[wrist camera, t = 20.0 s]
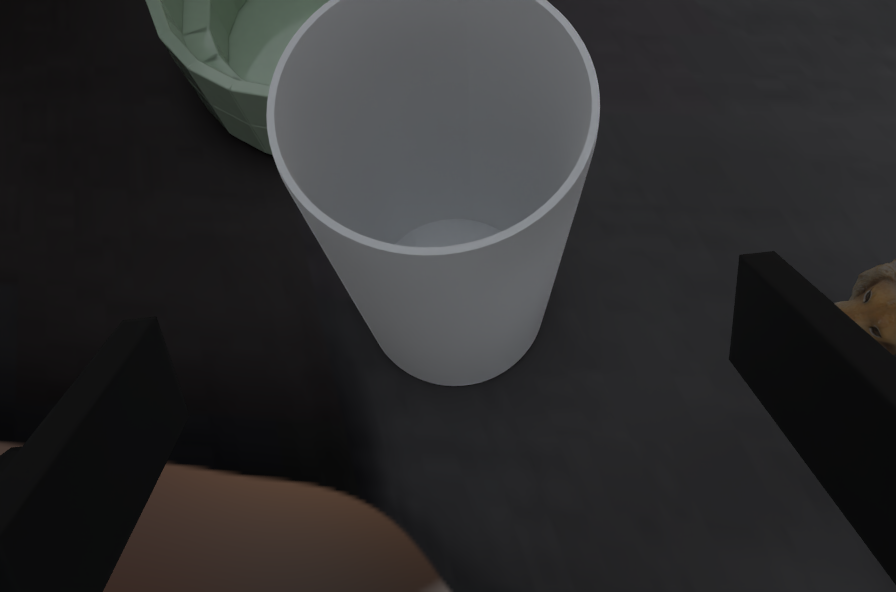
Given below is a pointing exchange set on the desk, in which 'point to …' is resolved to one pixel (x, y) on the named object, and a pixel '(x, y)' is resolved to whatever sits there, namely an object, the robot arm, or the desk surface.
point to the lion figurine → (875, 304)
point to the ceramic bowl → (231, 53)
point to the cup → (439, 167)
